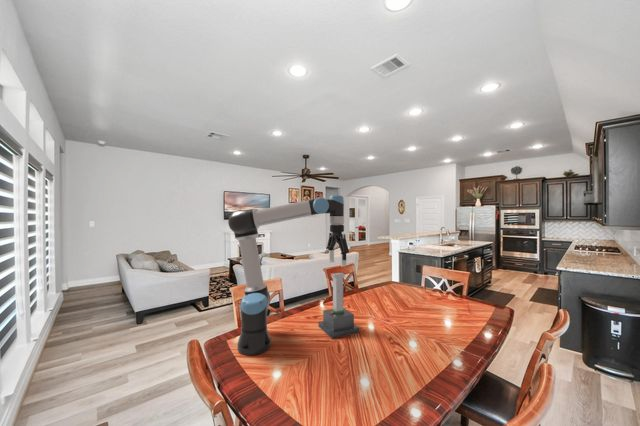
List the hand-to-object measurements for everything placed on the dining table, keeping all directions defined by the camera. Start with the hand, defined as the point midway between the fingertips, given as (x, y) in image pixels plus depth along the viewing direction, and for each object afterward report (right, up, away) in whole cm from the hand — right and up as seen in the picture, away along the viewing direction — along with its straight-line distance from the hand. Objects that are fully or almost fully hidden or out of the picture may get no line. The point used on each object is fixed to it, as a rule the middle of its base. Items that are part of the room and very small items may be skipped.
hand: (337, 264), depth 141 cm
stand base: (+1, -35, 0) cm, 35 cm away
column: (0, -29, 0) cm, 29 cm away
